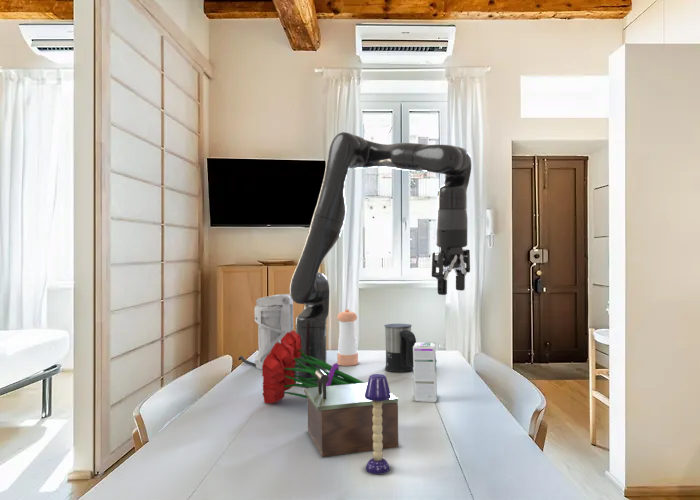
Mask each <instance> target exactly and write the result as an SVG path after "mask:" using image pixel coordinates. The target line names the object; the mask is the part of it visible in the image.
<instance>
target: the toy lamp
mask: <svg viewBox="0 0 700 500" xmlns="http://www.w3.org/2000/svg"><path fill="white" fill-rule="evenodd" d="M367 383H368V384H367V388H366V392H365V398H366V399H368V400H371V401H373V402H372V403H373V415H374V416H373V432H374V433H373V441H374V442H373V450H372V457H371V458H370V459H369V460H368V461H367V462H366V466H365V471H366V472H368V473H369V474H372V475H384V474H387V473H389V471H390V470H391V468H390V465H389V463H388V461H387V459H385V458H383V457H384V452H383V449H382V448H383V444H382V439H383V436H382V416H381V415H382V407H381V406H382V401H385V400H389V399H390V398H391V394H392V393H391V391H390V386H389V381H388V378H387V375H385V374H382V373H372V374H370V375H369V377H368V381H367ZM390 393H391V394H390Z"/></svg>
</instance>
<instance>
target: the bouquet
mask: <svg viewBox="0 0 700 500" xmlns="http://www.w3.org/2000/svg"><path fill="white" fill-rule="evenodd" d="M290 331H291V330H290ZM277 343H278V344H277ZM277 343H275V345H274V347H273V348H272V350H271V352H272V353H270V352H269V354H270V355H269V354H268V355H267V356H266V358H265V360H264V362H263V366H262V368H263V369H261V370H262V371H261V373H262V374H261V377H262V391H263V392H262V396H263V403H265V404H275V403H277V402H279V401H281V400H283V399H284V398H285V395H291V396H295V397H300V398H304V399H308V397H307V396H306V394H302V393H297V392H290V391H288V390H290V389H292V388H293V387H304V388H313V387H318V384H317V383H315V382H313V381H318V378H317V377H316V376H315V372H316V371H317V370H321V369H319V368H315V366H314V365H313V364H316V365H319V366H320V367H322V368H324V369H326V370H327V372H326V371H324V370H322V371H323V372H324V373H325V374H326V375H327V376H328V377H329V381H328V383H326V386H335V385H346V384H357V383H365V382H364V381H362V380H360V379H358V378H356V377H354V376H352V375H350V374H347V373H345V372H344V371H341V370H340V365H338V363H333V364H332V365H331V364H329V363H328V362H327V363H326V362H324V361H321V360H319V359H316V358H313V357H310V356H307V355H305V354H304V353H303V351H301V348H302V346H301V337H300V335H298V334H297V333H296V330H292V331H291V332H287V333H286V335H285V336H284V337H283V338H282V339H281V343H279V342H278V341H277ZM301 356H303V357H305V359H300V357H301ZM308 358H309V359H311V360H309V359H308ZM298 360H299V361H304V362H308V363H309V364H310V365H311V366H312V367H308V366H305V365H303V364H302V363H301V362H299V361H298ZM312 360H314V361H312ZM296 362H298V363H299V364H300V365H296ZM294 367H301V368H305V369H298V368H294ZM294 371H301V372H308V373H311V374H312V375H313V376H314V377H315V378H304V377H301V376H298V375H295V373H296V372H295V373H294ZM294 376H295V377H298V378H300V379H296V378H295V377H294ZM296 381H297V382H299V383H302V384H295V382H296ZM303 381H306V382H308V383H310V384H308V383H306V382H303Z"/></svg>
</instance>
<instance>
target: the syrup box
mask: <svg viewBox="0 0 700 500" xmlns="http://www.w3.org/2000/svg"><path fill="white" fill-rule="evenodd" d="M436 354H437V353H436V343H435V342H430V341H429V342H427V341H426V342H425V341H421V342H416V343H415V344H414V346H413V369H412V370H413V394H414V395H413V397H414V398H413V399H414V401H415V402H423V403H436V402H437V399H438V384H437V383H438V381H437V362H436V360H437V355H436Z"/></svg>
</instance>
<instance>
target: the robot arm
mask: <svg viewBox="0 0 700 500" xmlns="http://www.w3.org/2000/svg"><path fill="white" fill-rule="evenodd" d="M366 168H367V169H368V168H390V169H395V170H402V171H411V172H420V173H421V172H422V173H425V172H429V173H434V174H440V175H444V182H443V185H441V186H440V187H439V188H438V192H437V213H436V228H435V229H436V231H435V232H436V234H435V235H436V241H435V244H436V246H437V247H438V248H440V252H432V255H431V256H432V257H431V277H432V278H435V279H436V280H437V294H438V295H439V296H446V295H447V294H448V276H449V274H450V273H451V272H452V271H454V272H455V290H456V291H465V289H466V287H465V286H466V276H467V275H468V273H471V251H470V249H464V248H465V247H467V246H468V213H467V211H468V210H467V208H468V207H467V202H468V199H467V197H468V196H467V191H468V187H469V183H470V178H471V173H472V158H471V155H470V153H469V151H468V150H467V149H466V148H463V147H460V146H456V145H452V144H425V143H418V142H417V143H415V142H398V143H396V142H395V143H390V144H384V143H378V142H375V141H371V140H367V139H365V138H363V137H361V136H358V135H356V134H353V133H350V132H345V131H342V132H339V133H337V134H336V135H335V136H334V137H333V139H332V140H331V143H330V146H329V149H328V153H327V159H326V164H325V168H324V169H325V170H324V174H323V179H322V183H321V187H320V191H319V194H318V197H317V202H316V205H315V207H314V211H313V214H312V218H311V221H310V225H309V228H308V231H307V236H306V239H305V242H304V245H303V249H302V252H301V254H300V257H299V259H298V261H297V265H296V267H295V268H294V269H295V270H294V272H293V274H292V277H291V279H290V283H289V294H290V296H291V298H292V300H293V303H295V304H298V305H304V307H303V309H302V310H301V312H300V313H299V314H297V316H296V317H295V322H294V323H295V332H296V333H297V334H298V335H300V337H301V346H302V348H301V351H303V353H304V354H305V355H307V356H310V357H313V358H316V359H319V360H321V361H324V362H326V363H327V364H328V362H327V361H328V359H327V357H328V355H327V354H328V353H327V320H328V317H329V314H330V313H329V312H330V284H329V280H328V278H327V276H326V275H324V273H322V272H319V270H320V267H321V265H322V263H323V261H324V259H325V257H326V256H327V255H328V254H329V252H331V250H332V249H333V247H334V246H335V245H336V243H337V242H338V240H339V238H340V237H341V234H342V230H343V228H344V224H345V221H346V217H347V205H346V197H345V184H346V179H347V176H348V172H349V169H352V170H358V169H366ZM300 359H305V357H303V356H301V357H300ZM308 359H309V358H308ZM237 360H238V361H242V362H243V363H245V364H247V365H250V366H253V367H256V364H255V363H254V362H253V361H250V360H247V359H245V358H244V356H243V355H240V356H239V357H238V359H237ZM309 360H311V359H309ZM298 361H299V360H298ZM312 361H314V360H312ZM299 362H301V363H302V364H303V365H305V366H308V367H312V366H311V365H310V364H309V363H308V362H304V361H299ZM296 365H300V364H299V363H298V362H296ZM313 365H314V366H315V368H319V369H321V370H324V371H326V372H328V370H326V369H324V368H322V367H320V366H319V365H316V364H313ZM294 368H298V369H305V368H301V367H294ZM295 372H296V373H295ZM294 373H295V375H298V376H301V377H304V378H315V377H314V376H313V375H312V374H311V373H308V372H301V371H294ZM294 377H295V376H294ZM295 378H296V379H300V378H298V377H295ZM303 382H306V381H303ZM313 382H315V383H317V384H318V381H313ZM306 383H308V382H306ZM295 384H302V383H299V382H297V381H296V382H295ZM308 384H310V383H308Z"/></svg>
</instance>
